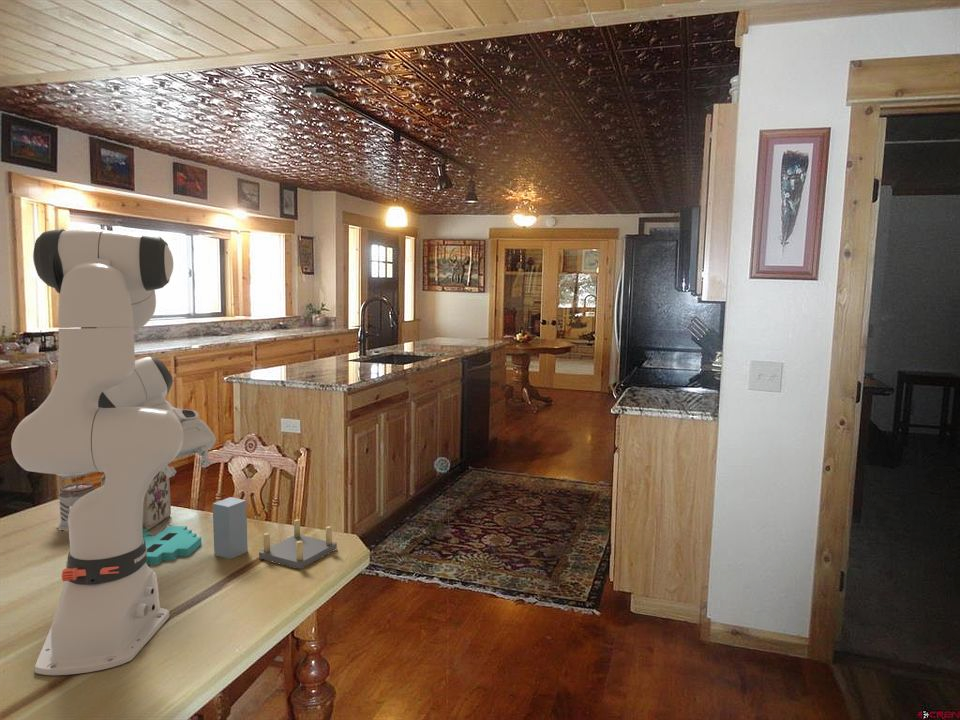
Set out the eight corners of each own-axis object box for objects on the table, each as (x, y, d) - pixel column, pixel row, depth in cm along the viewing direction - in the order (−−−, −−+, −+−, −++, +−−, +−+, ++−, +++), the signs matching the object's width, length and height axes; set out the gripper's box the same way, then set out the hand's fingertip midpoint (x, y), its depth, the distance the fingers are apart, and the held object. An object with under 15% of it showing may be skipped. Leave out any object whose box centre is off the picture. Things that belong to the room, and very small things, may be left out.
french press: (67, 534, 153) (60, 433, 150) (45, 524, 159) (39, 427, 156) (109, 522, 161) (103, 426, 158) (86, 513, 167) (81, 421, 164)
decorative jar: (147, 532, 154) (143, 461, 152) (101, 531, 155) (97, 460, 153) (172, 515, 166) (169, 448, 164) (129, 514, 167) (126, 448, 165)
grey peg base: (336, 549, 145) (336, 526, 144) (300, 569, 134) (299, 544, 133) (297, 540, 150) (296, 517, 149) (259, 558, 139) (258, 534, 139)
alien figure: (80, 569, 134) (172, 571, 134) (80, 559, 134) (172, 561, 134) (134, 534, 154) (214, 535, 154) (133, 525, 154) (213, 526, 153)
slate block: (230, 559, 139) (228, 506, 138) (214, 554, 141) (212, 503, 140) (247, 551, 143) (246, 500, 142) (232, 546, 146) (230, 497, 144)
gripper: (124, 425, 139) (155, 474, 136) (202, 409, 157) (231, 452, 154) (113, 442, 141) (143, 490, 138) (190, 425, 160) (219, 467, 156)
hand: (190, 470), depth 146 cm, fingers open, 8 cm apart
